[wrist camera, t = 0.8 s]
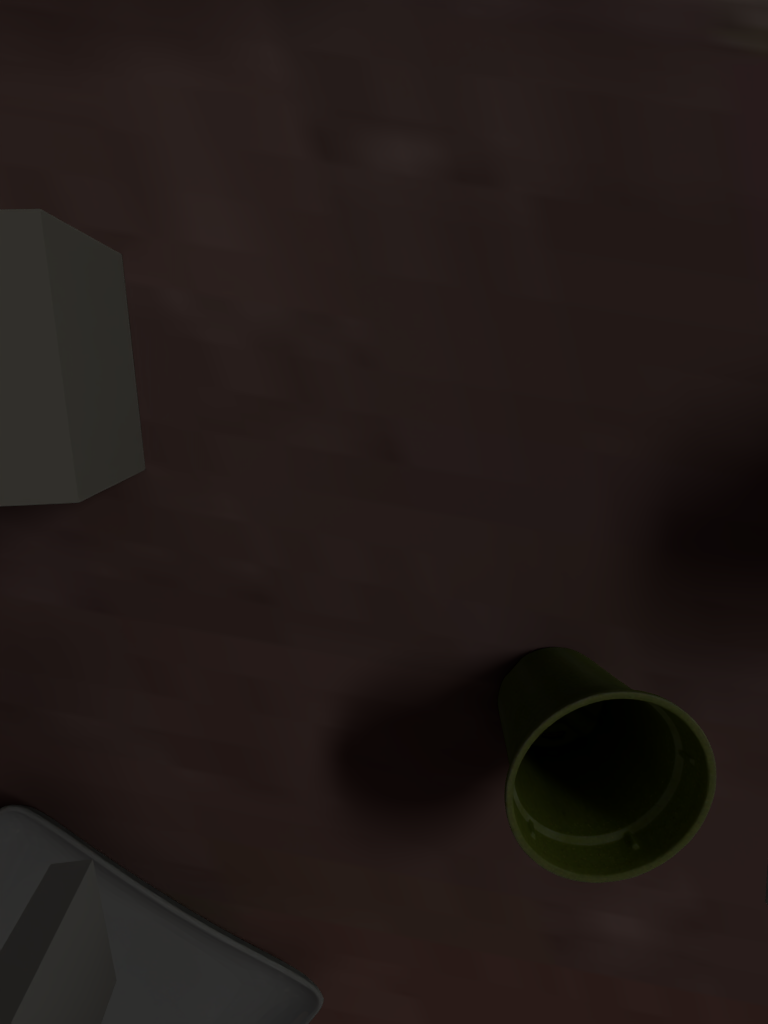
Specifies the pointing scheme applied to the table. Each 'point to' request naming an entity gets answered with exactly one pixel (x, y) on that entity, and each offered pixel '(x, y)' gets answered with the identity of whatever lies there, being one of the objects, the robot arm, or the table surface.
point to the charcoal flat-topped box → (63, 364)
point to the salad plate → (154, 940)
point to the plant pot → (599, 769)
